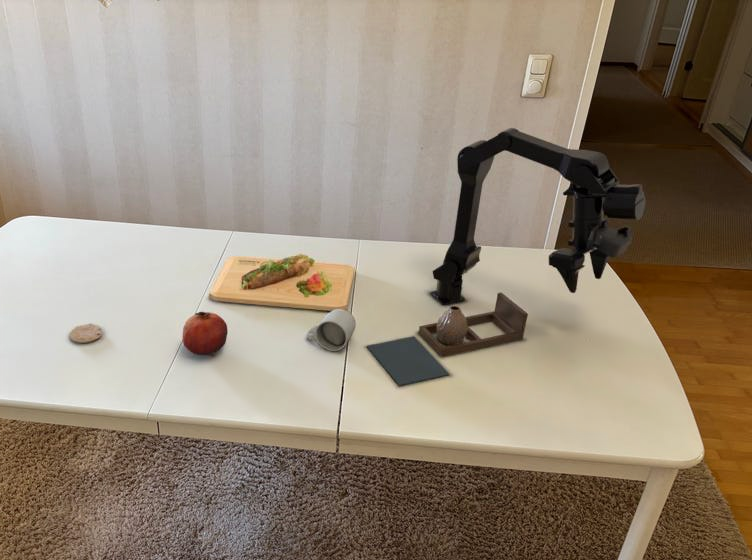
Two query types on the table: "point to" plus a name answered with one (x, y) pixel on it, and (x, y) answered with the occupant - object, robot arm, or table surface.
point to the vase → (452, 326)
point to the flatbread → (85, 333)
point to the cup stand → (504, 317)
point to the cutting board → (284, 282)
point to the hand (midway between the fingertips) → (585, 285)
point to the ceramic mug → (334, 330)
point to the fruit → (204, 333)
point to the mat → (407, 361)
